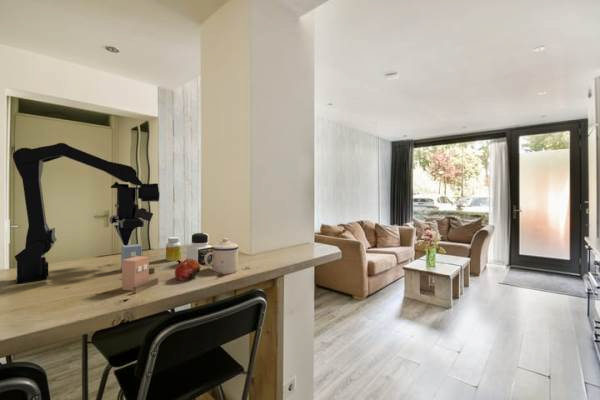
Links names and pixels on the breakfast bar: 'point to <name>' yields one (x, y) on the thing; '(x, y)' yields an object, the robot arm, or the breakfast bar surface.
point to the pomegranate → (187, 269)
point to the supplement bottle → (173, 249)
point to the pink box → (134, 272)
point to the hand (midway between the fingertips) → (125, 245)
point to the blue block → (130, 251)
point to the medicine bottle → (199, 249)
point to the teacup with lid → (223, 257)
